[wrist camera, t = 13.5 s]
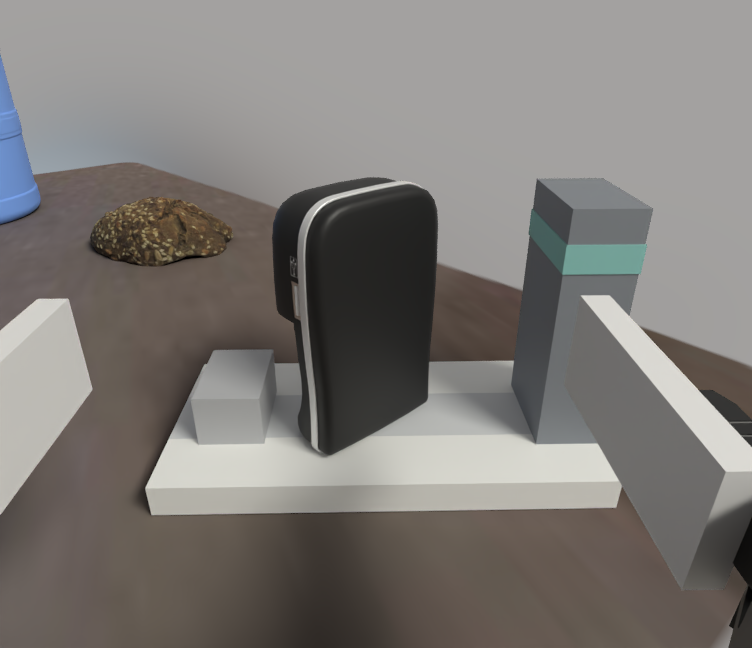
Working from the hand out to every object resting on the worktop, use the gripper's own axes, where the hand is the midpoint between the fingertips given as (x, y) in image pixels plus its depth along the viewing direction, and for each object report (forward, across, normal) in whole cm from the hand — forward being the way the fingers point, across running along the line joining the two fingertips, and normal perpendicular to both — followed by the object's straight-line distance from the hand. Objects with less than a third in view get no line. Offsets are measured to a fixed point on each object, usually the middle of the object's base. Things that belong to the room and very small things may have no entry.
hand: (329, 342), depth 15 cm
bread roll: (+41, -18, -12) cm, 46 cm away
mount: (+10, +2, -11) cm, 15 cm away
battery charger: (+10, +1, -10) cm, 14 cm away
